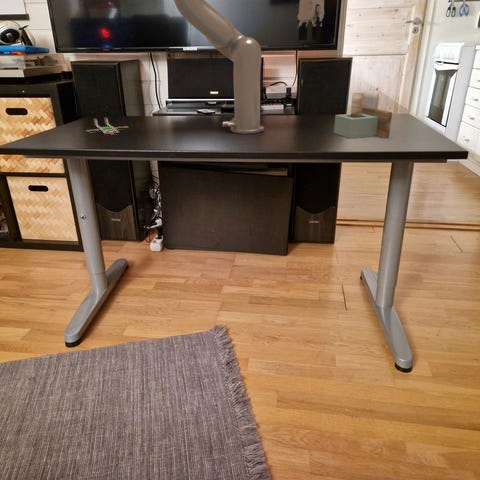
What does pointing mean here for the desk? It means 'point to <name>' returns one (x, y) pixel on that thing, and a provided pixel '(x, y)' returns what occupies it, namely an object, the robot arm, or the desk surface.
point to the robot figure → (106, 128)
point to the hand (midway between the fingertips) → (308, 40)
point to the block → (355, 126)
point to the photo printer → (370, 98)
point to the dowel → (357, 105)
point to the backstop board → (380, 120)
